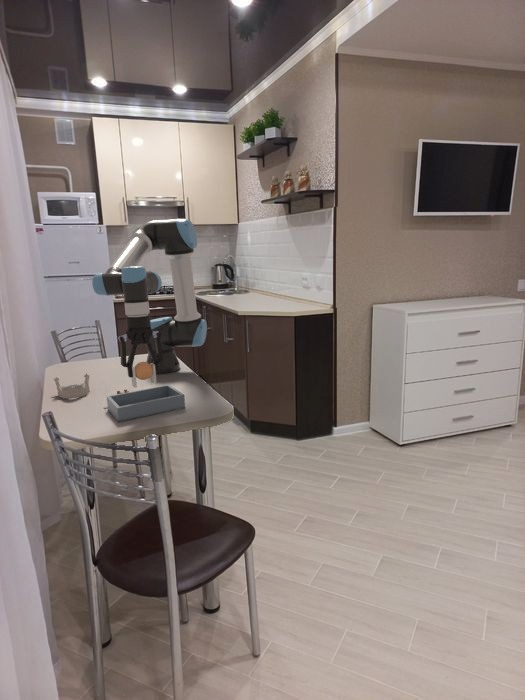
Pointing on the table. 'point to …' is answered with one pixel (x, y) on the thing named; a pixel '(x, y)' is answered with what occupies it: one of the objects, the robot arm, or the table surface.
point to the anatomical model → (73, 389)
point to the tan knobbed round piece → (122, 392)
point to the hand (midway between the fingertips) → (144, 384)
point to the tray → (145, 402)
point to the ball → (143, 370)
